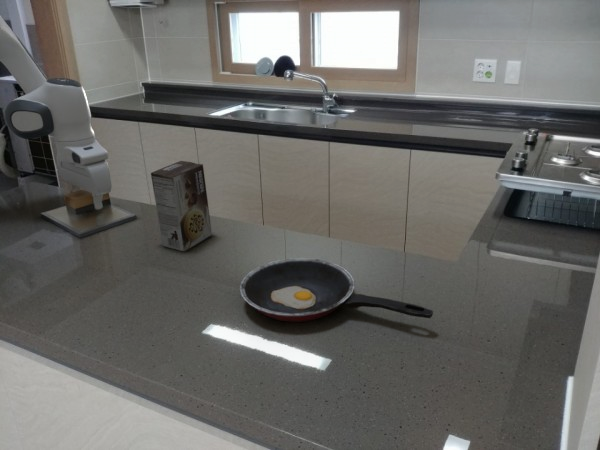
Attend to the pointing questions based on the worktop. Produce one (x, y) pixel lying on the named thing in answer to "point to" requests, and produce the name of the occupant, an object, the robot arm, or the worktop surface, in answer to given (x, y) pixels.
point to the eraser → (82, 201)
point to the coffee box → (181, 204)
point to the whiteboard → (88, 219)
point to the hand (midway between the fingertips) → (88, 204)
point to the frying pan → (310, 291)
